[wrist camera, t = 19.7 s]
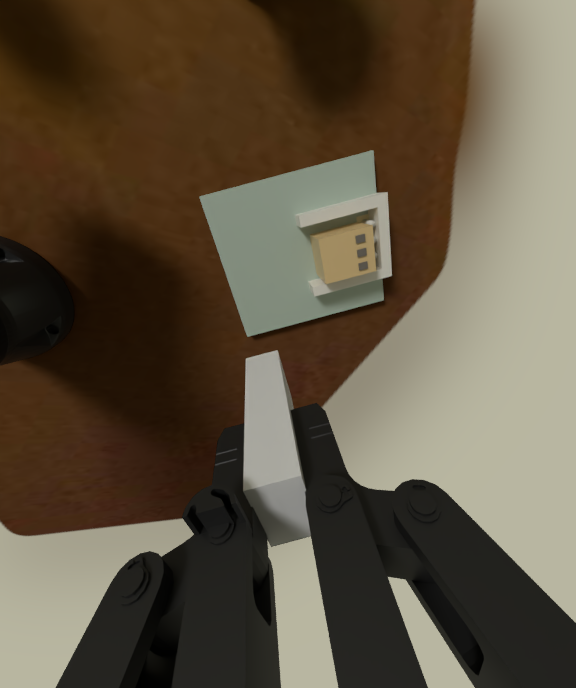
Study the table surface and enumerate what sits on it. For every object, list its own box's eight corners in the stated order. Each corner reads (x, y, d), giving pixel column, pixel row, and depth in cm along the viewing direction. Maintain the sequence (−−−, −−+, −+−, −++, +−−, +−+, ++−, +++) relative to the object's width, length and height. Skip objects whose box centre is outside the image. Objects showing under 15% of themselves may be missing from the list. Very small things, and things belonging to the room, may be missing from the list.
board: (247, 332, 41) (247, 346, 37) (201, 196, 32) (194, 196, 28) (379, 297, 41) (393, 307, 37) (368, 152, 32) (384, 145, 28)
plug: (316, 274, 37) (326, 284, 32) (309, 234, 34) (318, 239, 30) (360, 262, 37) (376, 271, 32) (356, 222, 34) (373, 225, 30)
